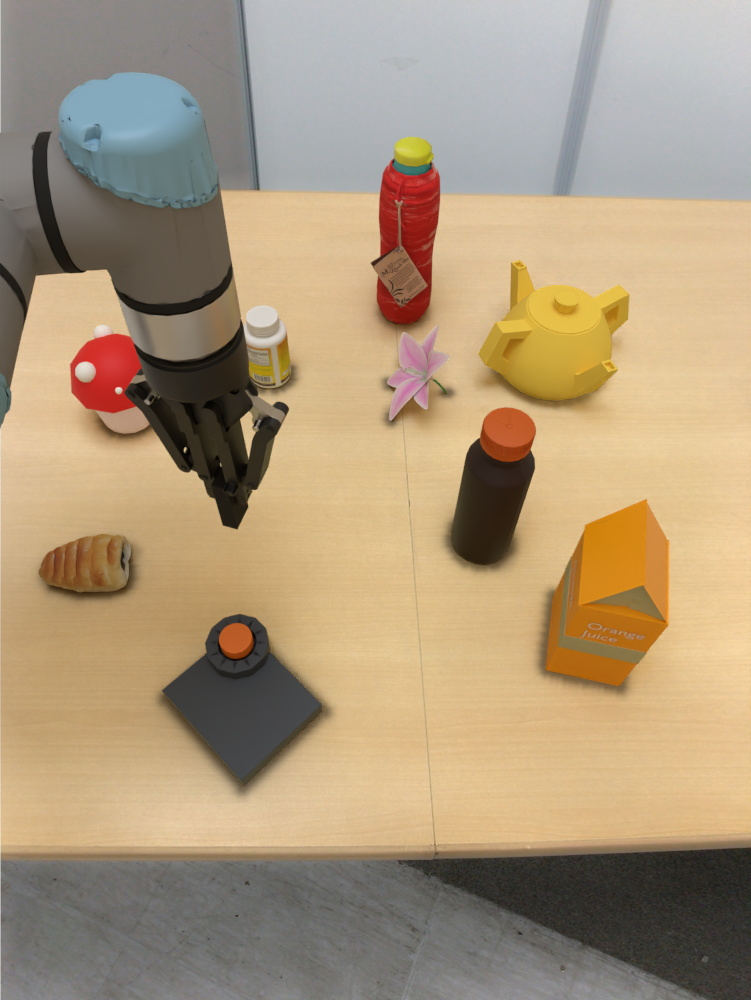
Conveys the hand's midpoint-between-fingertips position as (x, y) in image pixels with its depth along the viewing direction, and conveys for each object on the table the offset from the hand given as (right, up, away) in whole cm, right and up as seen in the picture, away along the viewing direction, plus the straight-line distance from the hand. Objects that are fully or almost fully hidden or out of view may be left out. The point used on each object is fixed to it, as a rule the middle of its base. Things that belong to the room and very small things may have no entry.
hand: (235, 515), depth 70 cm
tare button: (0, -13, +3) cm, 13 cm away
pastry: (-18, -6, +11) cm, 22 cm away
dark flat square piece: (0, -19, +3) cm, 19 cm away
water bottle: (+17, +27, +35) cm, 47 cm away
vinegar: (+25, -3, +15) cm, 29 cm away
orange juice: (+35, -13, +8) cm, 38 cm away
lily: (+18, +15, +27) cm, 36 cm away
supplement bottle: (-1, +18, +28) cm, 34 cm away
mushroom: (-18, +12, +24) cm, 32 cm away
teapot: (+36, +20, +30) cm, 51 cm away
